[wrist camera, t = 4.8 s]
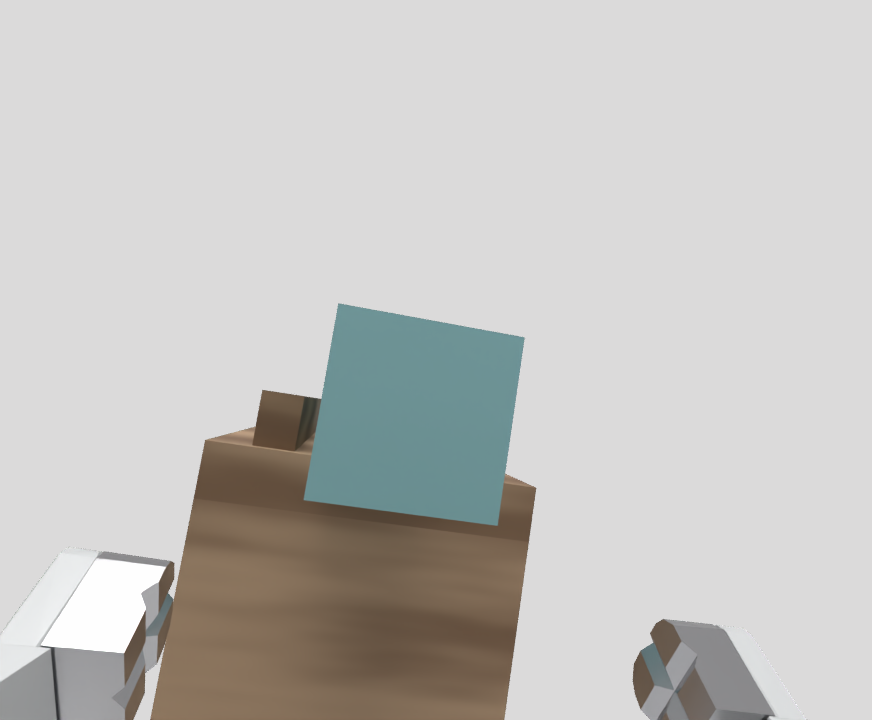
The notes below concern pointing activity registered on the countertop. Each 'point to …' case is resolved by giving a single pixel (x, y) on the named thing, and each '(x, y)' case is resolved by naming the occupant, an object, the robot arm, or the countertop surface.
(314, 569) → the bridge stand
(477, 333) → the rod
